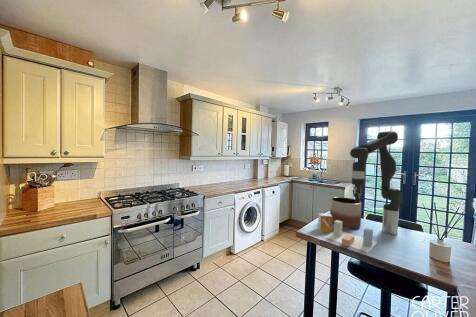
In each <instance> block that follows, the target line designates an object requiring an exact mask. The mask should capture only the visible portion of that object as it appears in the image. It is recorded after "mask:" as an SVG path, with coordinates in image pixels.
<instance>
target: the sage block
mask: <svg viewBox="0 0 476 317" xmlns="http://www.w3.org/2000/svg"><path fill="white" fill-rule="evenodd" d="M342 224H343V222H342V221H338V220H336V221H334V224H333V231H334V236H337V237H341V236H342V232H343V227H342Z"/></svg>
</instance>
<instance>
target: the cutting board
mask: <svg viewBox="0 0 476 317" xmlns="http://www.w3.org/2000/svg"><path fill="white" fill-rule="evenodd" d="M347 234H349V235H353V236H354V243H353V244H351V245H350V246H349V247H351V248H354V249H357V250H360V251H363V252H366V253H369V252H370V251H371V250H372V249H373V248H374V247H375V246H376V244H377V243H378V241H375V240H372V246H371V247H368V246H365V245H363V237H361V236H359V235H355V234H352V233H348V232H345V231H342V236H341V237H337V236H334V230H332V232H329V234H327V235H325V236H324V239H328V240H331V241H334V242H337V243H340V244H342V238H343V237H345V236H346V235H347Z"/></svg>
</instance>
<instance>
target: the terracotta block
mask: <svg viewBox="0 0 476 317" xmlns="http://www.w3.org/2000/svg"><path fill="white" fill-rule="evenodd" d="M349 234H350V233H349ZM349 234H347V235H346V236H345V237H343V238H342V243H341V245H342V246H345V247H347V248H348V247H351V246H350V245H351V244H353V243H354V236H353V235H354V234H352V235H349Z"/></svg>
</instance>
